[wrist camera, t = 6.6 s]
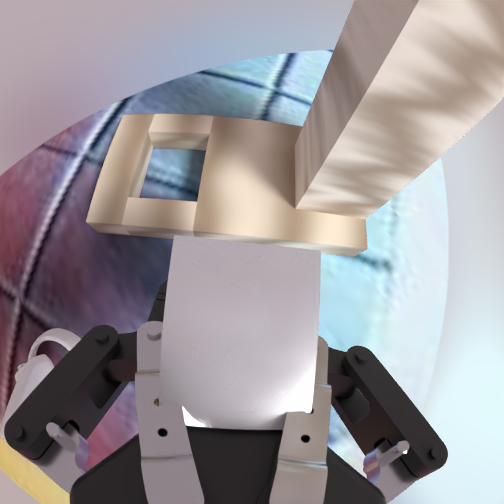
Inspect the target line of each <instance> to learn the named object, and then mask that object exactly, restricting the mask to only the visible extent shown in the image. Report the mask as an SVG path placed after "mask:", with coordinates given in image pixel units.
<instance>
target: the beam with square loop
mask: <svg viewBox="0 0 504 504" xmlns="http://www.w3.org/2000/svg"><path fill="white" fill-rule="evenodd" d="M502 98H504V0H355V1H354V3H353V5H352V8H351V10H350V13H349V15H348V18H347V20H346V23H345V25H344V28H343V30H342V32H341V35H340V37H339V40H338V42H337V45H336V47H335V49H334V52H333V54H332V57H331V59H330V61H329V64H328V66H327V69H326V71H325V74H324V76H323V79H322V81H321V83H320V86H319V88H318V91H317V93H316V96H315V98H314V100H313V103H312V105H311V108H310V110H309V113H308V115H307V118H306V120H305V122H304V125H303V127H301V126H295V125H289V124H283V123H277V122H270V121H262V120H255V119H246V118H236V117H225V116H212V115H193V114H131V115H123V117H122V119H121V122H120V124H119V126H118V128H117V131H116V133H115V136H114V138H113V140H112V143H111V145H110V148H109V151H108V153H107V156H106V159H105V161H104V164H103V167H102V170H101V173H100V176H99V179H98V182H97V185H96V188H95V191H94V195H93V198H92V201H91V205H90V208H89V212H88V216H87V220H86V222H87V223H88V224H89V225H90V226H91V227H92V228H93V229H95V230H96V231H97V232H99V233H110V234H121V235H132V236H143V237H154V238H165V239H174V235H177V236H188V237H198V238H208V239H218V240H227V241H237V242H247V243H256V244H266V245H275V246H284V247H294V248H303V249H312V250H321V254H331V255H341V256H351V257H354V256H356V255H358V254H359V253H361V252H363V251H365V250H366V249H367V234H366V221H365V219H366V218H368V217H369V216H370V215H371V214H373V213H374V212H375V211H376V210H378V209H379V208H380V207H381V206H383V205H384V204H385V203H386V202H388V201H389V200H390V199H391V198H392V197H394V196H395V195H396V194H397V193H398V192H400V191H401V190H402V189H403V188H404V187H406V186H407V185H408V184H409V183H410V182H412V181H413V180H414V179H415V178H416V177H418V176H419V175H420V174H421V173H422V172H423V171H425V170H426V169H427V168H428V167H429V166H430V165H431V164H433V163H434V162H435V161H436V160H437V159H438V158H439V157H441V156H442V155H443V154H444V153H445V152H446V151H447V150H448V149H450V148H451V147H452V146H453V145H454V144H455V143H456V142H457V141H459V140H460V139H461V137H463V136H464V135H465V134H466V133H467V132H468V131H469V130H470V129H472V128H473V127H474V126H475V125H476V124H477V123H478V122H479V121H480V120H481V119H482V118H483V117H484V116H485V115H486V114H487V113H488V112H489V111H490V110H491V109H493V108H494V107H495V105H497V104H498V103H499V102H500V101H501V100H502ZM153 148H167V149H189V150H205V151H206V155H205V160H204V165H203V171H202V176H201V182H200V188H199V194H198V200H197V202H194V201H181V200H167V199H151V198H140V194H141V190H142V186H143V182H144V179H145V175H146V171H147V168H148V164H149V161H150V157H151V154H152V151H153Z"/></svg>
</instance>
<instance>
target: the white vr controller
mask: <svg viewBox="0 0 504 504" xmlns="http://www.w3.org/2000/svg"><path fill="white" fill-rule="evenodd" d="M47 340H51V341H56V342H58V343H60V344H62V345H63V346H64V347H65V348H66V349H67V350H68V351H70V350H71V349H72V348H73V347H74V346H75V345H76V344H77V343H78V342H79V341H80V340H81V339H80V338H79V337H78V336H77V335H75V334H74V333H72V332H70V331H68V330H65V329H60V328H55V329H50V330H48V331H46V332H44V333H43V334H42V335H40V336H39V337H38V338H37V339H36V341H35V342H34V343H33V345H32V347H31V349H30V352H29V356H28V362H27V363H26V364H21V365H19V366H18V370H19V371H18V372H17V373H16V374H15V379H16V382H17V383H16V385H15V387H14V390H13V393H12V395H11V398H10V400H9V403H8V406H7V409H6V412H5V415H4V418H3V421H2V424H1V428H0V436H1V438H3V439H4V440H6V439H5V435H4V427H5V424H6V422H7V421H8V419H9V418H10V417H11V416H12V414H13V413H14V412H15V411H16V410H17V409H18V407H19V406H20V405H21V404H22V403H23V402H24V400H25V399H26V398H27V397H28V396H29V395H30V394H31V392H32V391H33V390H34V389H35V388H36V387H37V386H38V385H39V383H40V382H41V381H42V380H43V379H44V378H45V377H46V376H47V375H48V374H49V372H50V371H51V370H52V369H53V368H54V365H53V363H52V361H51V360H50V359H49V358H48V357H47V356H46V355H45V354H42V355H38V356H36V353H37V349H38V347H39V345H40V344H41V343H42V342H43V341H47Z"/></svg>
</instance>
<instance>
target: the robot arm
mask: <svg viewBox="0 0 504 504" xmlns="http://www.w3.org/2000/svg"><path fill="white" fill-rule="evenodd" d="M167 283H168V279H167V280H166V281H165V282H164V283H163V284H162V285H161V286H160V289H159V292H158V294H157V297H156V300H155V302H154V305H153V308H152V310H151V313H150V316H149V319H148V322H146V323H144V324H142V325H141V326H140V327H139V329H138V331H136V332H133V333H126V334H118V333H117V331H116V330H115V329H114V328H113V327H111V326H108V325H100V326H96V327H94V328H92V329H91V330H90V331H89V332H88V333H87V334H86V335H85V336H84V337H83V338H82V339H81V340H80V341H79V342H78V343H77V344H76V345H75V346H74V347H73V348H72V349H71V350H70V351H69V352H68V353H67V354H66V355H65V357H64V358H63V359H62V360H61V361H60V362H59V363H58V364H57V365H56V366H55V367H54V368H53V369H52V370H51V371H50V372H49V374H48V375H47V376H46V377H45V378H44V379H43V380H42V381H41V382H40V383H39V385H38V386H37V387H36V388H35V389H34V390H33V391H32V392H31V394H30V395H29V396H28V397H27V398H26V399H25V400H24V402H23V403H22V404H21V405H20V406H19V407H18V409H17V410H16V411H15V412H14V413H13V414H12V416H11V417H10V418H9V419H8V421H7V422H6V424H5V427H4V435H5V439H6V441H7V443H8V444H9V445H10V446H11V447H12V448H13V449H15V450H16V451H17V452H19V453H20V454H21V455H22V456H23V457H25V458H26V459H28V460H29V461H31V462H32V463H34V464H35V465H37V466H38V467H39V468H40V469H41V470H42V471H43V472H44V473H45V474H46V475H48V476H49V477H50V478H51V479H52V480H53V481H54V482H55V483H57V484H58V485H59V486H60V487H61V488H63V489H64V490H65V491H66V492H68V493H69V494H70V504H387V503H388V502H390V501H391V500H393V499H394V498H395V497H396V496H398V495H399V494H400V493H401V492H403V491H404V490H406V489H407V488H408V487H409V486H410V485H412V484H413V483H414V482H415V481H417V480H419V479H421V478H423V477H424V476H426V475H428V474H430V473H432V472H434V471H436V470H437V469H439V468H441V467H442V466H443V465H444V464H445V463H446V460H447V457H448V451H447V448H446V446H445V444H444V443H443V442H442V440H441V439H440V438H439V436H438V435H437V434H436V432H435V431H434V430H433V428H432V427H431V426H430V424H429V423H428V422H427V421H426V419H425V418H424V417H423V415H422V414H421V413H420V411H419V410H418V409H417V408H416V406H415V405H414V404H413V403H412V401H411V400H410V399H409V397H408V396H407V395H406V394H405V392H404V391H403V390H402V389H401V387H400V386H399V385H398V384H397V382H396V381H395V380H394V379H393V377H392V376H391V375H390V374H389V372H388V371H387V370H386V369H385V368H384V366H383V365H382V364H381V363H380V361H379V360H378V359H377V358H376V357H375V355H374V354H373V353H372V352H371V351H370V350H369V349H367V348H365V347H362V346H353V347H351V348H349V349H348V351H347V352H343V351H339V350H335V349H332V348H330V347H328V344H327V342H326V341H325V340H324V339H323V338H322V337H320V336H318V343H317V357H316V370H315V381H314V391H313V401H312V409H311V414H307V413H306V412H305V411H292V412H287V413H286V416H285V420H284V423H283V426H282V429H281V430H242V429H222V428H210V427H199V426H190V425H186V424H185V419H184V413H183V408H182V406H177V405H170V404H164V403H163V405H162V406H159V377H160V358H161V343H162V331H163V319H164V309H165V300H166V291H167ZM129 381H135V392H136V409H137V421H138V431H139V433H138V434H137V435H135V436H134V437H133V438H132V439H130V440H129V441H128V442H126V443H125V444H124V445H122V446H121V447H120V448H119V449H117V450H116V451H115V452H113V453H112V454H111V455H109V456H108V457H107V458H105V459H104V460H102V461H101V462H100V463H98V464H97V465H96V466H94V467H93V468H91V469H90V470H89V471H87V469H86V462H87V459H88V457H89V454H90V447H89V444H88V442H87V441H86V440H87V438H88V437H89V436H90V434H91V433H92V432H93V430H94V429H95V427H96V426H97V425H98V423H99V422H100V421H101V419H102V418H103V416H104V415H105V414H106V412H107V411H108V410H109V408H110V407H111V406H112V404H113V403H114V402H115V400H116V399H117V398H118V396H119V395H120V394H121V392H122V391H123V390H124V388H125V387H126V386H127V384H128V383H129ZM358 389H359V390H358ZM361 393H362V394H361ZM363 396H364V397H363ZM366 400H367V401H366ZM368 403H369V404H368ZM331 404H332V406H333V407H334V409H335V410H336V412H337V413H338V415H339V417H340V418H341V420H342V421H343V423H344V424H345V426H346V427H347V429H348V430H349V432H350V433H351V435H352V437H353V438H354V440H355V441H356V443H357V444H358V446H359V447H360V449H361V450H362V452H363V453H364V455H365V458H364V463H363V465H364V467H363V471H364V473H365V474H367V479H366V478H365V477H364V476H362V475H361V474H360V473H359V472H357V471H356V470H355V469H354V468H352V467H351V466H350V465H349V464H348V463H346V462H345V461H344V460H343V459H342V458H341V457H339V456H338V455H337V454H336V453H335V452H334V451H332V450H331V449H330V448H329V447H328V446H327V445H328V435H329V423H330V410H331Z"/></svg>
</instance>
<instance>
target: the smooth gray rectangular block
mask: <svg viewBox="0 0 504 504" xmlns="http://www.w3.org/2000/svg"><path fill="white" fill-rule="evenodd" d="M320 261H321V250H312V249H303V248H294V247H284V246H275V245H266V244H256V243H247V242H237V241H227V240H218V239H208V238H198V237H188V236H177V235H174V240H173V247H172V253H171V260H170V267H169V275H168V283H167V291H166V300H165V309H164V319H163V331H162V343H161V358H160V377H159V406H162V405H163V403H164V404H170V405H177V406H182V408H183V413H184V419H185V424H186V425H190V426H199V427H210V428H222V429H242V430H281V429H282V426H283V423H284V420H285V416H286V413H287V412H292V411H305V412H306V413H307V414H311V409H312V401H313V391H314V381H315V370H316V357H317V343H318V326H319V304H320Z"/></svg>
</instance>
